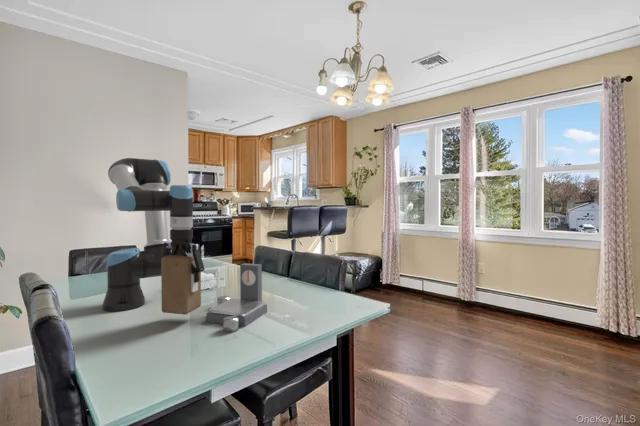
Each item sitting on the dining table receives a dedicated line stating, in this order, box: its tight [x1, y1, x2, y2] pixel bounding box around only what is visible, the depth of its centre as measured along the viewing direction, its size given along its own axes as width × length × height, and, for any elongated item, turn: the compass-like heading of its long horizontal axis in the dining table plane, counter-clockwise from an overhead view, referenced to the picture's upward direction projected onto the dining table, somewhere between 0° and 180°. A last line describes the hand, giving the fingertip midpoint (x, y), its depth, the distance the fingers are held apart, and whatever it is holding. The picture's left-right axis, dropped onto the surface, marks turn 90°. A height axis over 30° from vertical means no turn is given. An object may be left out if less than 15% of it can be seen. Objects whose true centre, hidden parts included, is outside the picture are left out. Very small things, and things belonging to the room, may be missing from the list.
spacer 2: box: [222, 316, 240, 334], centre depth 111 cm, size 5×5×4 cm
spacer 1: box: [216, 295, 231, 306], centre depth 135 cm, size 5×5×4 cm
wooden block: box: [160, 254, 202, 315], centre depth 118 cm, size 10×10×20 cm
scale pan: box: [208, 297, 266, 317], centre depth 124 cm, size 15×15×4 cm
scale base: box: [206, 262, 268, 328], centre depth 125 cm, size 16×19×18 cm
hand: (181, 289), depth 119 cm, fingers closed on wooden block, 10 cm apart
